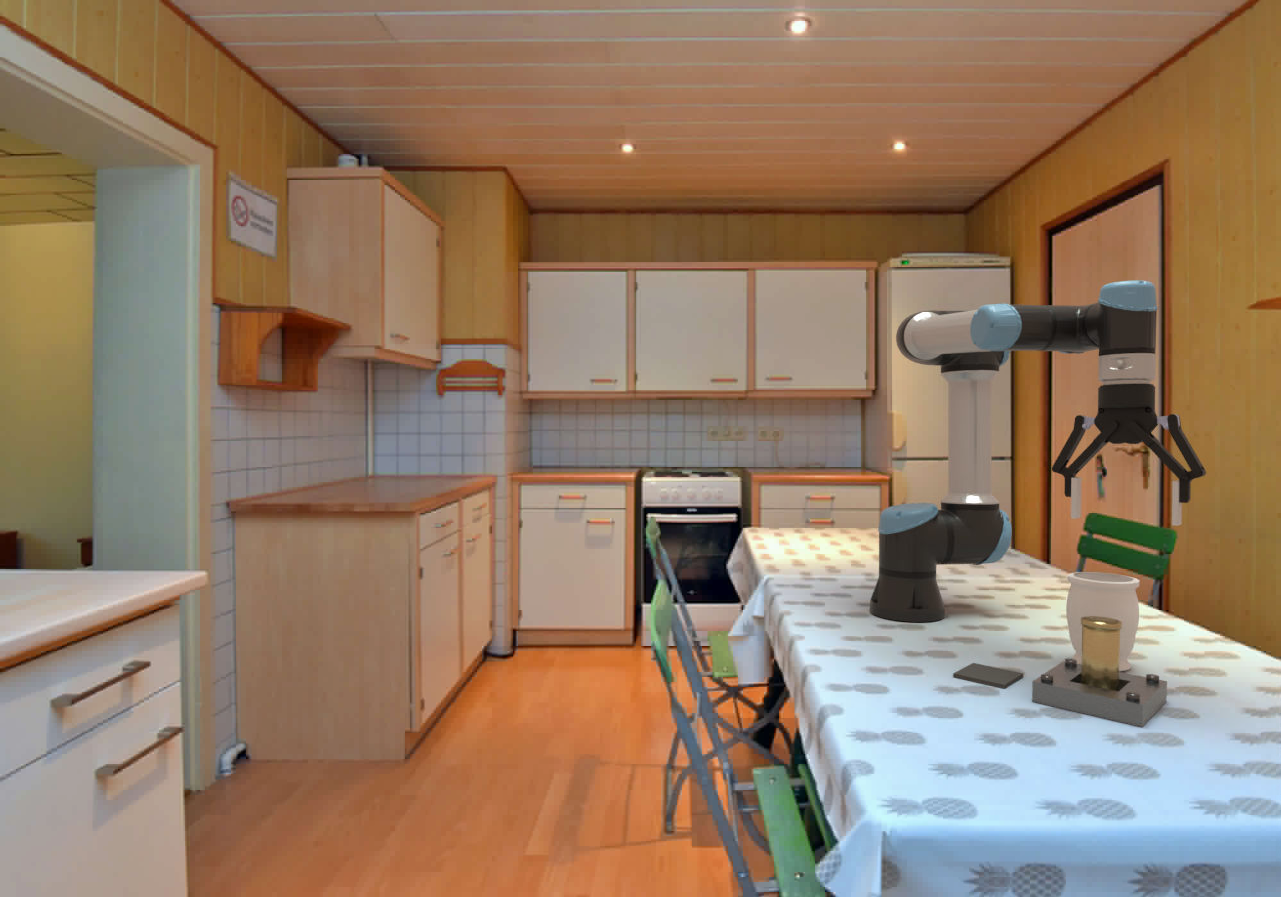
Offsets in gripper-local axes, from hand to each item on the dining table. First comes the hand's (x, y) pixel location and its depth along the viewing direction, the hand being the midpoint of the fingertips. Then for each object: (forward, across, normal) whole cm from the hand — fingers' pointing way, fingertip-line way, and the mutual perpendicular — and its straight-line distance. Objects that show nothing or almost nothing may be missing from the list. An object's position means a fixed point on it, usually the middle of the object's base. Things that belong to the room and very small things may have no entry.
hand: (1124, 521), depth 124 cm
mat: (+26, -17, -10) cm, 32 cm away
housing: (+26, -1, -10) cm, 28 cm away
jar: (+26, -5, +10) cm, 28 cm away
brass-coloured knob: (+26, -1, -10) cm, 28 cm away
